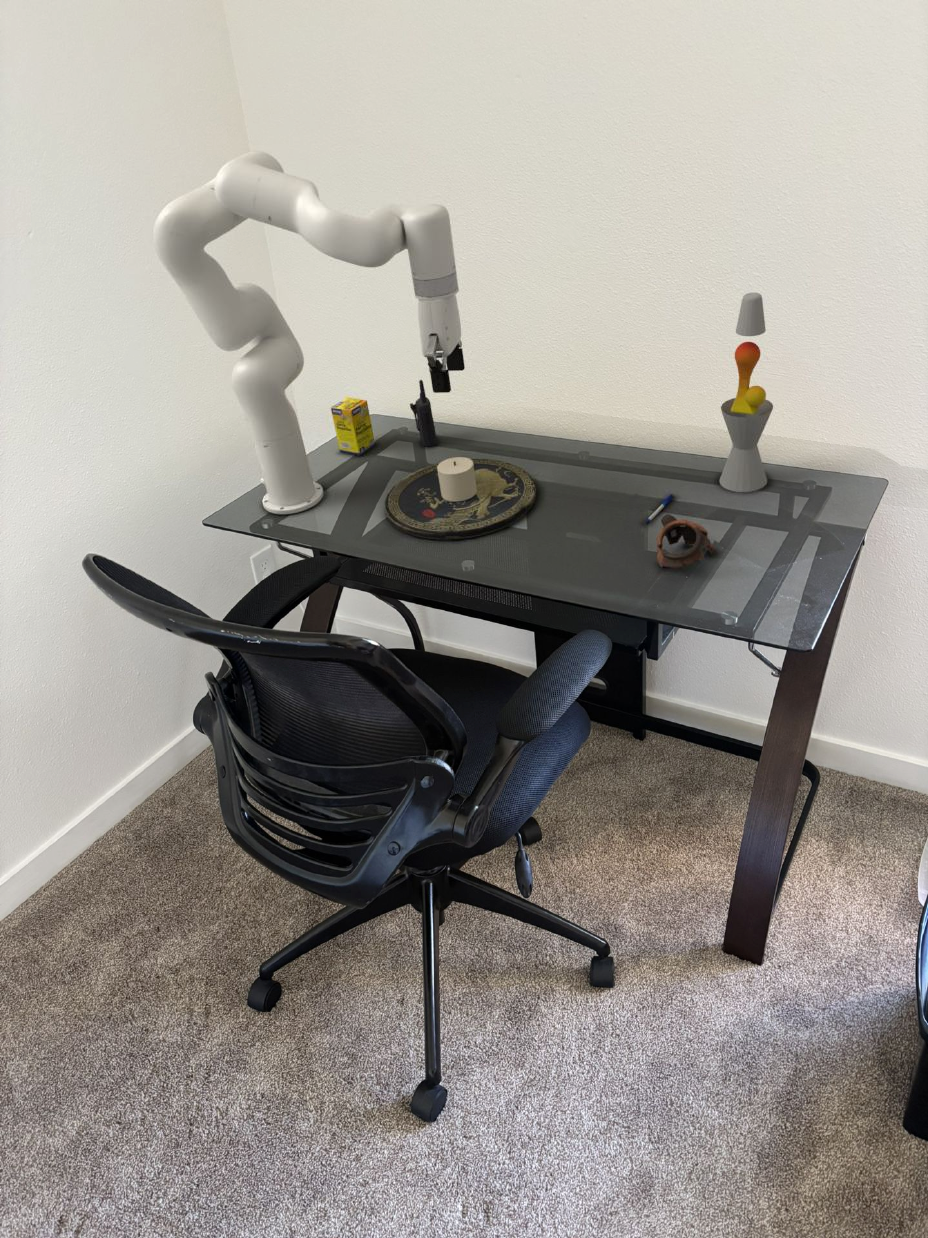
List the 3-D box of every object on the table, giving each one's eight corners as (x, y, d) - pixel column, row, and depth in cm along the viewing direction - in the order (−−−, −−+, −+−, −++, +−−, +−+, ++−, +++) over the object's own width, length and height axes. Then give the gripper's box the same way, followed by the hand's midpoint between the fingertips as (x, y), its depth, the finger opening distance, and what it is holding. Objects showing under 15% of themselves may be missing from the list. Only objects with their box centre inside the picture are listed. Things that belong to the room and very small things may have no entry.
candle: (434, 495, 185) (429, 464, 181) (458, 480, 188) (454, 450, 184) (459, 505, 180) (454, 473, 176) (484, 489, 184) (480, 458, 180)
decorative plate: (413, 549, 169) (364, 483, 192) (414, 558, 170) (366, 491, 193) (562, 503, 176) (498, 444, 199) (563, 511, 177) (499, 452, 201)
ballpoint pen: (669, 496, 176) (669, 492, 176) (673, 497, 176) (673, 493, 175) (645, 523, 170) (645, 519, 169) (649, 524, 169) (649, 520, 169)
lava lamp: (711, 487, 177) (716, 301, 157) (728, 466, 183) (735, 284, 162) (758, 495, 172) (770, 305, 152) (775, 473, 178) (788, 287, 158)
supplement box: (360, 456, 207) (350, 410, 201) (339, 452, 210) (329, 407, 204) (376, 445, 211) (367, 399, 205) (356, 441, 214) (346, 396, 208)
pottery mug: (728, 561, 157) (718, 537, 151) (682, 595, 158) (669, 573, 152) (687, 517, 164) (676, 492, 158) (643, 550, 166) (630, 526, 159)
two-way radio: (438, 446, 207) (428, 381, 198) (418, 450, 206) (407, 385, 198) (434, 436, 211) (424, 372, 202) (415, 440, 211) (404, 376, 202)
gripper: (428, 269, 167) (442, 362, 176) (399, 302, 153) (415, 401, 163) (469, 267, 164) (480, 361, 174) (443, 300, 151) (457, 400, 161)
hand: (449, 380), depth 169 cm, fingers open, 9 cm apart
